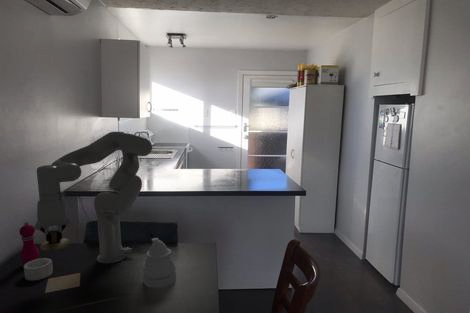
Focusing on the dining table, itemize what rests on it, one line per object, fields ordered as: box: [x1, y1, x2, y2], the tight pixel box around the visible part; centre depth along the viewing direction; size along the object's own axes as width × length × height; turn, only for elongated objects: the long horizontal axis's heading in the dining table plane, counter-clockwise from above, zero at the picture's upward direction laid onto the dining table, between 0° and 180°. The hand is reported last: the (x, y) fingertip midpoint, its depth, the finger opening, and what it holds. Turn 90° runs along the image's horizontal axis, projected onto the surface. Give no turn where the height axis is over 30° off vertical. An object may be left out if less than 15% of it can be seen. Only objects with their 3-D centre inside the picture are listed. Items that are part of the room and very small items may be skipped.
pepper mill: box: [19, 221, 40, 268], centre depth 155 cm, size 7×7×20 cm
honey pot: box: [142, 237, 177, 289], centre depth 139 cm, size 13×13×18 cm
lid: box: [40, 228, 70, 252], centre depth 137 cm, size 10×10×6 cm
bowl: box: [23, 257, 54, 281], centre depth 145 cm, size 10×10×6 cm
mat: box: [44, 272, 81, 294], centre depth 139 cm, size 12×12×1 cm
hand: (54, 241), depth 138 cm, fingers closed on lid, 2 cm apart
